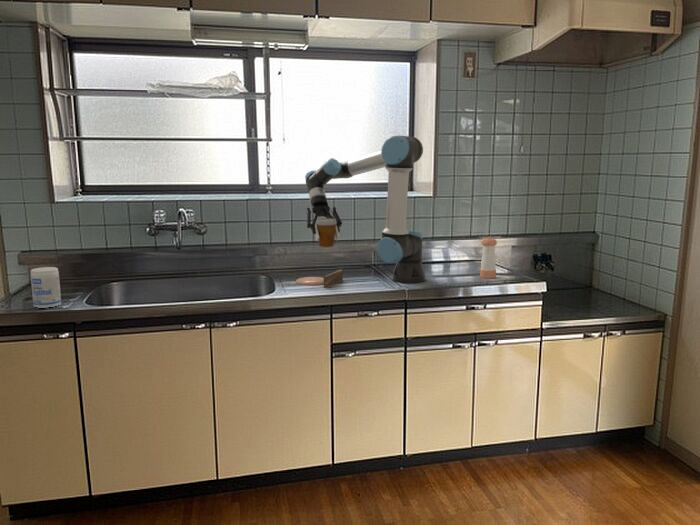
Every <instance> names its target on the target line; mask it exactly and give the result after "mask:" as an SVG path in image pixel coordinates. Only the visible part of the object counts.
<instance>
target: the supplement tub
mask: <svg viewBox="0 0 700 525" xmlns="http://www.w3.org/2000/svg"><path fill="white" fill-rule="evenodd" d="M60 284H61V283H60V272H59V268H58V267H55V266H43V267H36V268H32V269H30V285H31V295H32V305H33V307H34V308H35V307H38V308H46V307H53V308H56V307H55V306H57V307H59V306H61V305H62V296H61V295H62V294H61V285H60ZM58 305H59V306H58ZM38 308H37V309H38Z"/></svg>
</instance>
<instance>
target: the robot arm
mask: <svg viewBox="0 0 700 525" xmlns="http://www.w3.org/2000/svg"><path fill="white" fill-rule="evenodd" d="M423 153H424V146H423V144H422V142H421V141H420V140H419V139H418V138H417V137H415V136H410V135H409V136H408V135H393V136H390V137H388V138H387V139H386V140H384V142H383V143H382V146H381V150H379V151H377V152H373V153H370V154H366V155H363V156H359V157H356V158H352V159H350V160H347V161H343V162H339V161H338V160H337V159H335V158H333V157H330V158H328V159H327V160H325V161H324V162H323V164H322V165H321V166H320V167H319V168H318V169H312V170H310V171H307V172H306V174H305V176H304V178H305V184H306V188H307V191H308V196H309V200H310V204H311V205H310V206H311V208H310V207H306V211H305V212H306V215H307V217H306V228H307V229H310V230H311V233H312V235H314V236H315V241H316V242H319V234H318V229H317V225H316V221H317V219H318V217H322V218H323V217H324V218H332V219H336V222H337V223H336V228H335V236H334V237H335V239H336V241H339V239H340V231H341V229H340V228H341V227H342V224H343V222H342V220H341V217H340V216H339V214H338V212H337V208H336V207H335V206H333V207H330V206H329V204H328V200H327V195H326V191H325V185H327V184H328V183H329V182H330V181H331V180H335V179H336V180H337V179H350V178H353V177H354V176H356V175H360V174H361V175H362V174H365V173H369V172H372V171H375V170H376V171H377V170H379V169H383V168H385V169H386V170H387V172H388V175H387V176H388V179H387V196H386V197H387V199H386V217H385V218H386V219H385V227H384V229H383V230H381V238H380V240H379V241H378V242H377V244H376V253H377V256H378V257H379V258H380V259H381V260H382V261H383V262H385V263H387V264H395V266H394V269H393V272H392V281H394V282H397V281H398V283H403V282H404V283H405V284H407V283H408V284H414V283H422V282H425V280H426V272H425V270H424V266H423V263H422V261H423V256H422V255H423V232H421V231H419V230H408V229H406V228H407V226H406V225H407V212H408V211H407V210H408V205H407V204H408V193H409V192H408V191H409V178H410V177H409V175H410V172H411V171H412V170H413V168H414V163H417V162H418V161H419V160H420V159H421V158H422V157H423ZM312 213H313V214H315V215H314V219H313V221H311V220H312V219H311V218H312V217H311V216H312ZM311 222H312V223H311Z"/></svg>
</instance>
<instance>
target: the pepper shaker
mask: <svg viewBox="0 0 700 525" xmlns="http://www.w3.org/2000/svg"><path fill="white" fill-rule="evenodd" d="M497 244H498V242H497V240H496V239H495V238H492V236H487V237H486V238H483V239H482V240H481V245H482V255H481V261H480V269H479V277H480V278H482V279H495V278H496V276H497V270H496V264H497V263H496V245H497Z"/></svg>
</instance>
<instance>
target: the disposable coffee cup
mask: <svg viewBox="0 0 700 525" xmlns="http://www.w3.org/2000/svg"><path fill="white" fill-rule="evenodd" d="M336 223H337V222H336V219H332V218H326V217H324V218H323V217H322V218H317V220H316V223H315V225H316V226H317V229H318V234H319V240H318V245H319V247H321V248H322V247H323V248H331V247H334V243H335V237H336V236H335V228H336Z"/></svg>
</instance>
